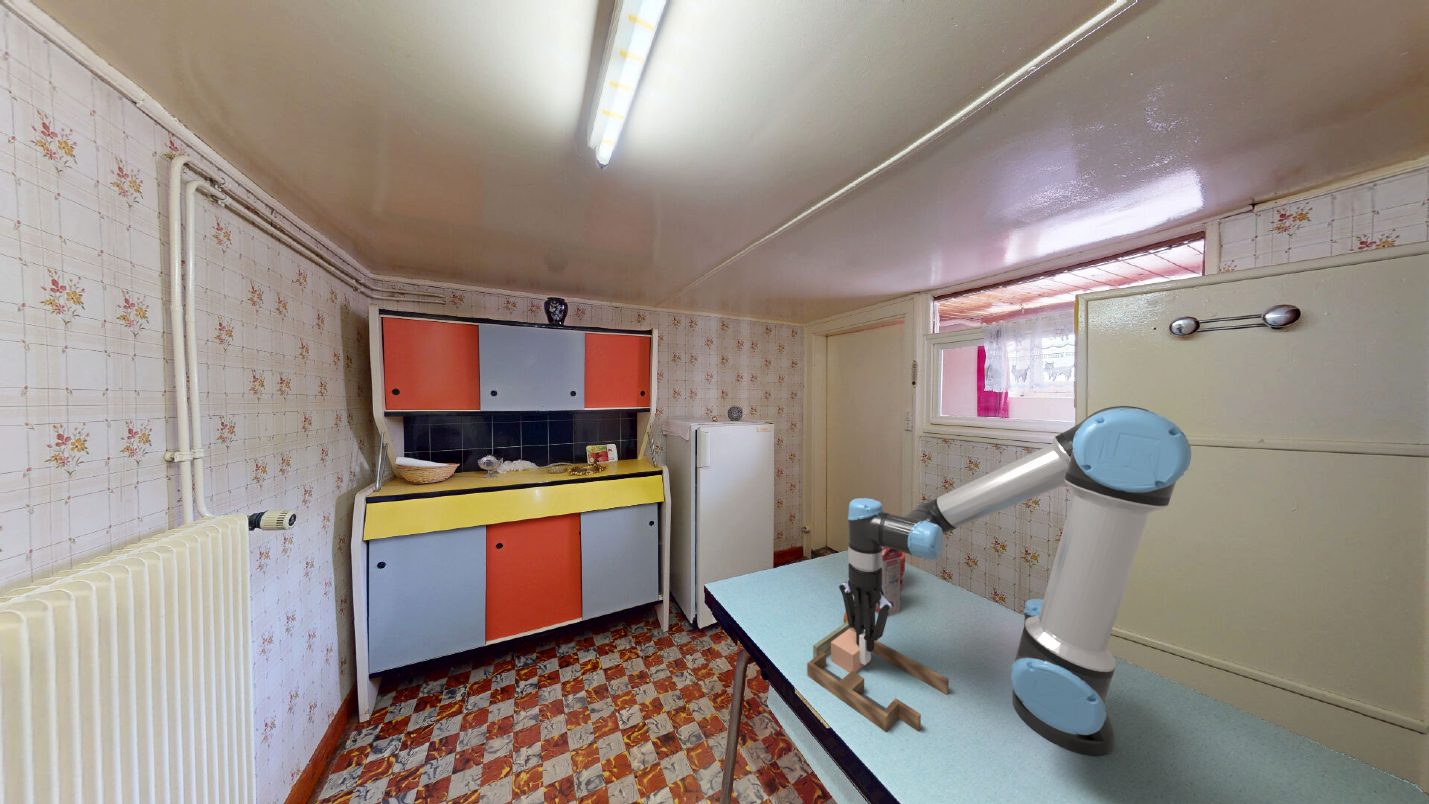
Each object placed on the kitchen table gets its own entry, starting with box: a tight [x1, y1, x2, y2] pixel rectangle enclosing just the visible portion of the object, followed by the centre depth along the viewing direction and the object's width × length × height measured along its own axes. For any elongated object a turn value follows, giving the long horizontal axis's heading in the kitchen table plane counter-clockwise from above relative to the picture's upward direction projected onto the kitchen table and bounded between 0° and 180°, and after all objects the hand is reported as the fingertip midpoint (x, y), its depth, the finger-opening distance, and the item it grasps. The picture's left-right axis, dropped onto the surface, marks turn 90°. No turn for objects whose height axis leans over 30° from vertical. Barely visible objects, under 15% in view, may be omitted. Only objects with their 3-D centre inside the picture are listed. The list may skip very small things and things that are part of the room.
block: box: [830, 629, 865, 674], centre depth 94 cm, size 6×8×5 cm
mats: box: [821, 666, 887, 711], centre depth 84 cm, size 17×4×1 cm, turn 39°
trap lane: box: [806, 622, 950, 733], centre depth 87 cm, size 25×20×4 cm
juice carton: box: [875, 546, 901, 617], centre depth 115 cm, size 7×7×22 cm
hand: (865, 660), depth 91 cm, fingers closed
